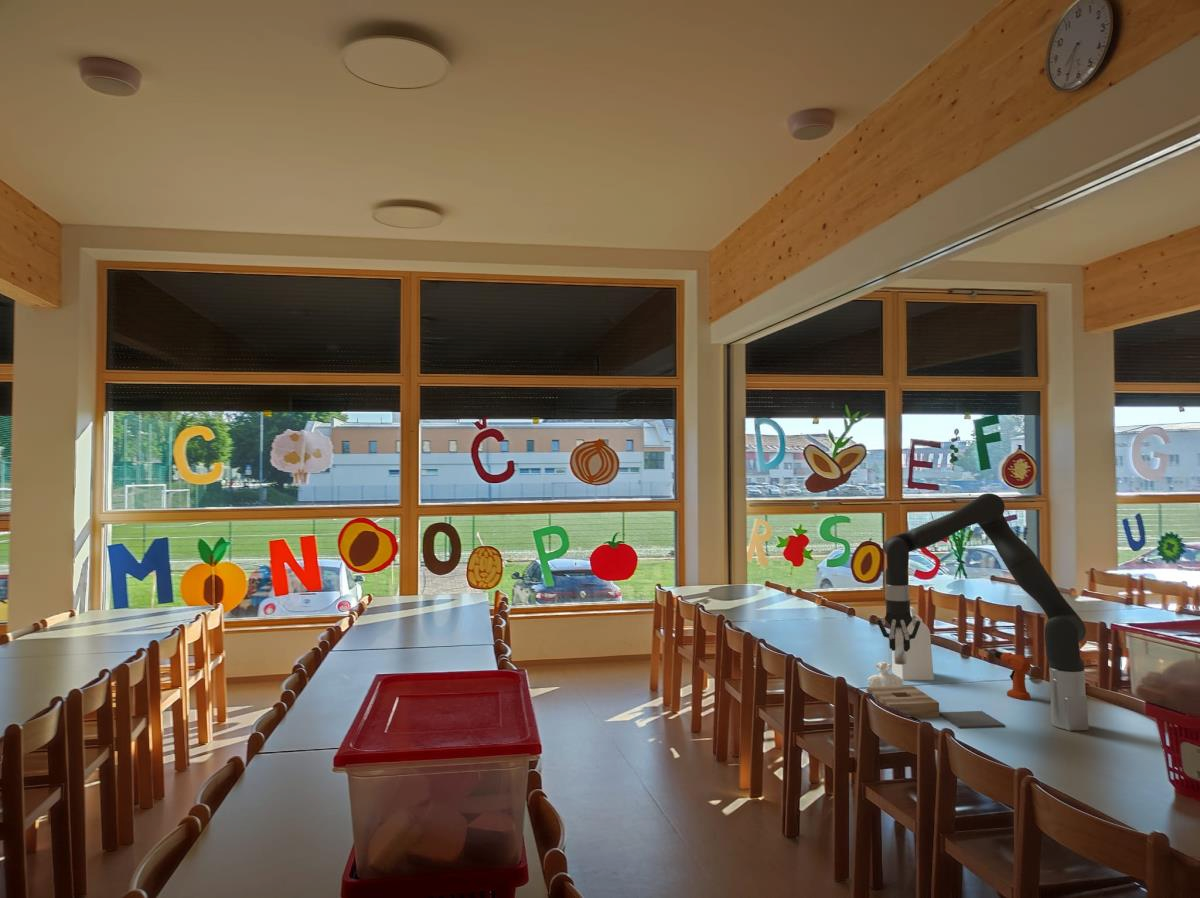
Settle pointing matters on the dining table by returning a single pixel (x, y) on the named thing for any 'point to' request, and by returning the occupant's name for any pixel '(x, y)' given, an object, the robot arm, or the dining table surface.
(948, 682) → the dining table surface
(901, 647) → the silver metal cylinder
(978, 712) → the rubber mat
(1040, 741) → the dining table surface
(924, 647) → the milk
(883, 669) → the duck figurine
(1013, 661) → the toy drill
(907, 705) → the block
